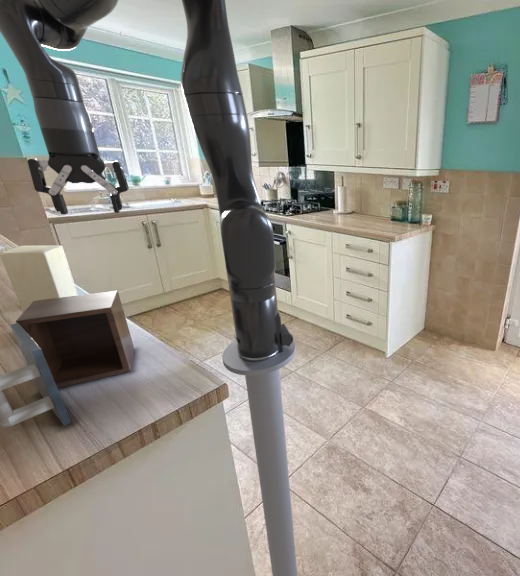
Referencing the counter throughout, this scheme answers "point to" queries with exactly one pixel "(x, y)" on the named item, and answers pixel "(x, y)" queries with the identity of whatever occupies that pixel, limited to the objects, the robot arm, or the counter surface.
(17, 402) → the counter surface
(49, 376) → the door
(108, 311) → the cupboard
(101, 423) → the counter surface
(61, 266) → the cream rectangular block
